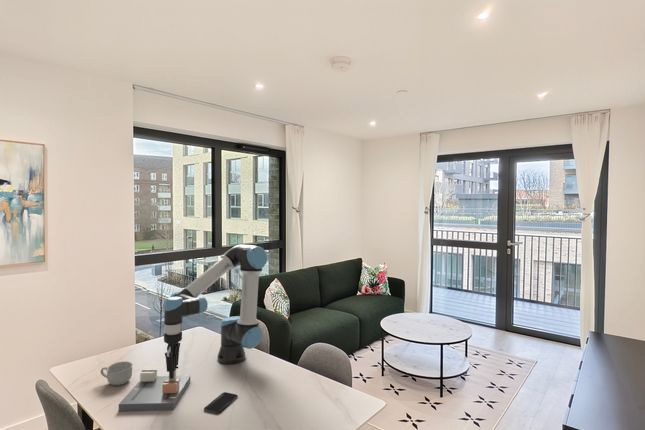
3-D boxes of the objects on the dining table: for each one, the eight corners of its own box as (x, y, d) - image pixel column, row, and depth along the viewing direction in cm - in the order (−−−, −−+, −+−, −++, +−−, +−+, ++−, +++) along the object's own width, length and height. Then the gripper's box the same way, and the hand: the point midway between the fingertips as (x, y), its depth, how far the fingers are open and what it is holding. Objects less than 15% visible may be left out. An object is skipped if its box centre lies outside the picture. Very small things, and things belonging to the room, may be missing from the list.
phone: (202, 409, 148) (223, 391, 162) (202, 411, 148) (223, 394, 162) (218, 413, 146) (238, 395, 160) (218, 415, 146) (238, 397, 160)
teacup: (137, 377, 176) (137, 361, 175) (122, 389, 165) (122, 372, 165) (110, 376, 177) (110, 360, 177) (94, 387, 166) (94, 370, 166)
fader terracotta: (179, 388, 159) (179, 378, 159) (176, 393, 155) (176, 383, 155) (165, 388, 159) (165, 379, 159) (162, 393, 155) (162, 383, 155)
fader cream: (157, 377, 169) (157, 368, 169) (153, 381, 165) (153, 372, 165) (143, 377, 169) (143, 368, 169) (140, 381, 165) (140, 372, 165)
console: (190, 381, 172) (190, 375, 172) (173, 409, 149) (173, 402, 148) (143, 382, 171) (143, 376, 171) (118, 411, 147) (118, 403, 147)
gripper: (169, 327, 166) (169, 377, 166) (158, 337, 153) (158, 391, 153) (186, 327, 166) (185, 377, 166) (176, 337, 153) (175, 391, 153)
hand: (172, 384), depth 160 cm, fingers closed
